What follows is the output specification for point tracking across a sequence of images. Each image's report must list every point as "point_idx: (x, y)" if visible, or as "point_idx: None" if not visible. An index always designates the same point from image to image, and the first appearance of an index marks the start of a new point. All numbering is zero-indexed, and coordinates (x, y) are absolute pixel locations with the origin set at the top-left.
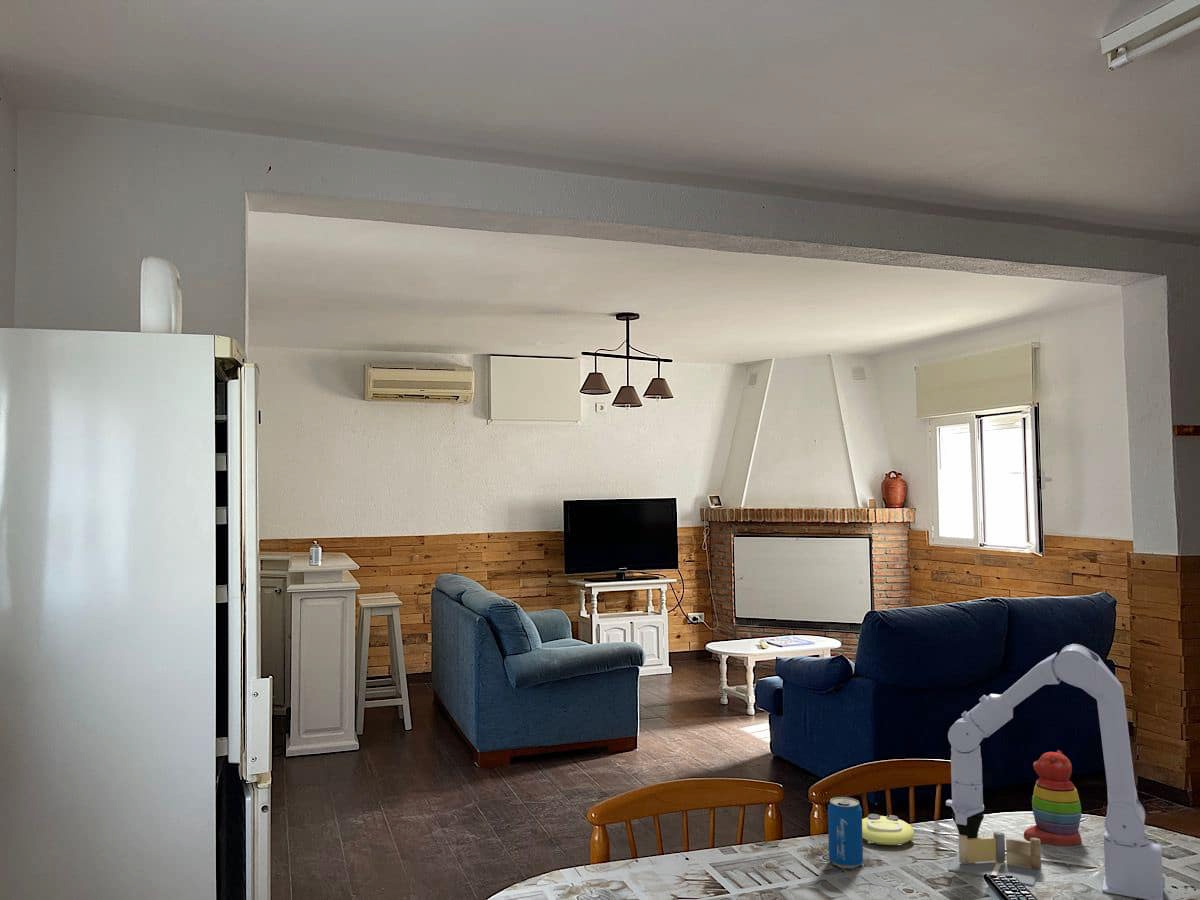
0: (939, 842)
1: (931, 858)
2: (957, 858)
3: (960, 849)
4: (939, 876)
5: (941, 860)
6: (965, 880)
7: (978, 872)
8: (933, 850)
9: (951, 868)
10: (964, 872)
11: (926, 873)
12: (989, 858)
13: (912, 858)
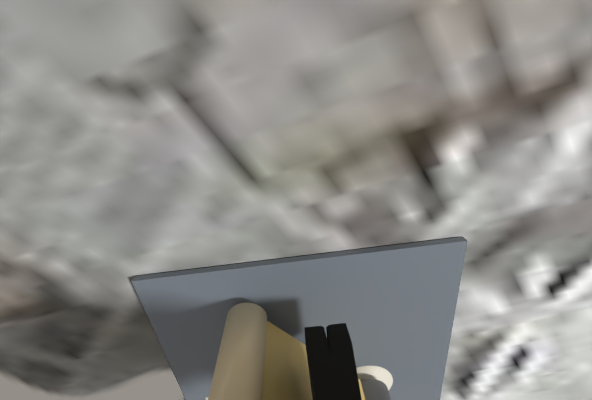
0: (551, 108)
1: (247, 159)
2: (308, 270)
3: (214, 375)
4: (37, 267)
5: (253, 210)
6: (96, 348)
7: (199, 366)
8: (388, 124)
9: (154, 289)
10: (156, 335)
11: (10, 210)
12: None
13: (161, 56)
